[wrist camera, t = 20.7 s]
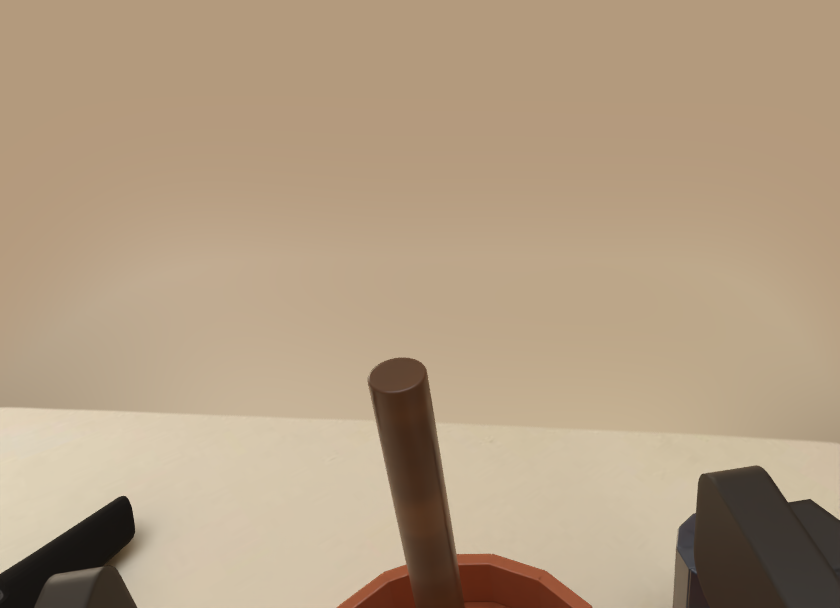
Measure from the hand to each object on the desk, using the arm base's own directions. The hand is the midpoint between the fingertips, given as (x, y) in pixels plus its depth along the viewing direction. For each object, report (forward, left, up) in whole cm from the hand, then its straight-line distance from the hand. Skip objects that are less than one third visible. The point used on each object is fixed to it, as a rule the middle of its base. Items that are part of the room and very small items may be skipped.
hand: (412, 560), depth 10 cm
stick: (+8, -5, -22) cm, 24 cm away
